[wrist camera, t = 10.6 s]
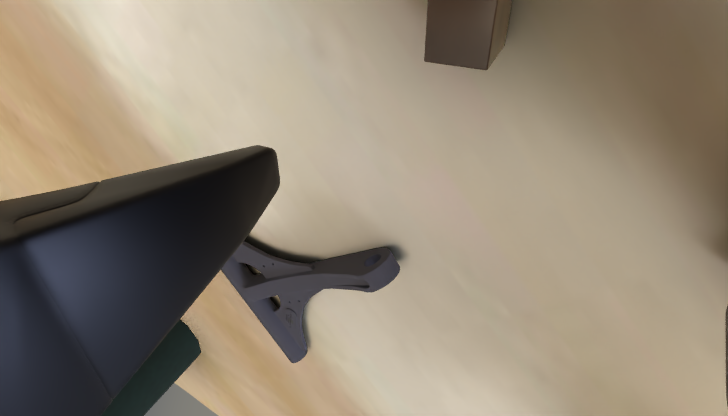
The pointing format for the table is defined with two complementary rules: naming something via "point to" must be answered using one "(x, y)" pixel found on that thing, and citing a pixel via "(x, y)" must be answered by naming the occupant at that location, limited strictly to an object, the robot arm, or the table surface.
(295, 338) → the bracket
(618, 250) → the table surface
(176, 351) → the wine bottle
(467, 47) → the spatula
